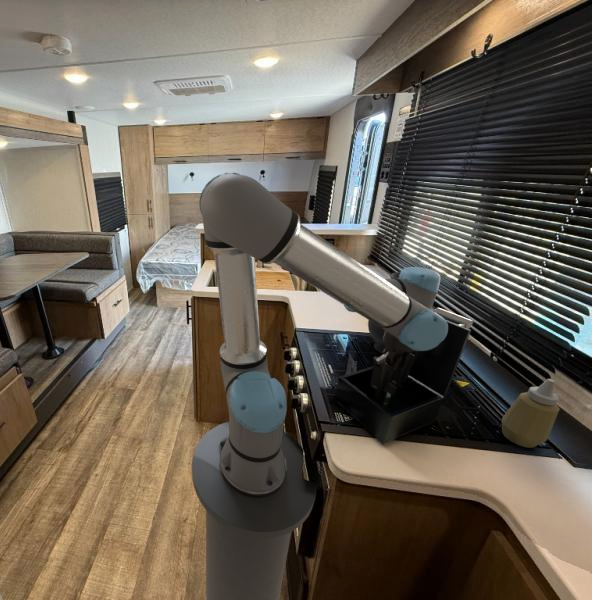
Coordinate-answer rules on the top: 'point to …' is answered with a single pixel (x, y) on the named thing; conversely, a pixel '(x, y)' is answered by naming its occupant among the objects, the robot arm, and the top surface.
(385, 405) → the beer can
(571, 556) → the top surface
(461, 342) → the compartment lid
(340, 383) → the compartment
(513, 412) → the squeeze bottle
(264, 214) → the robot arm
